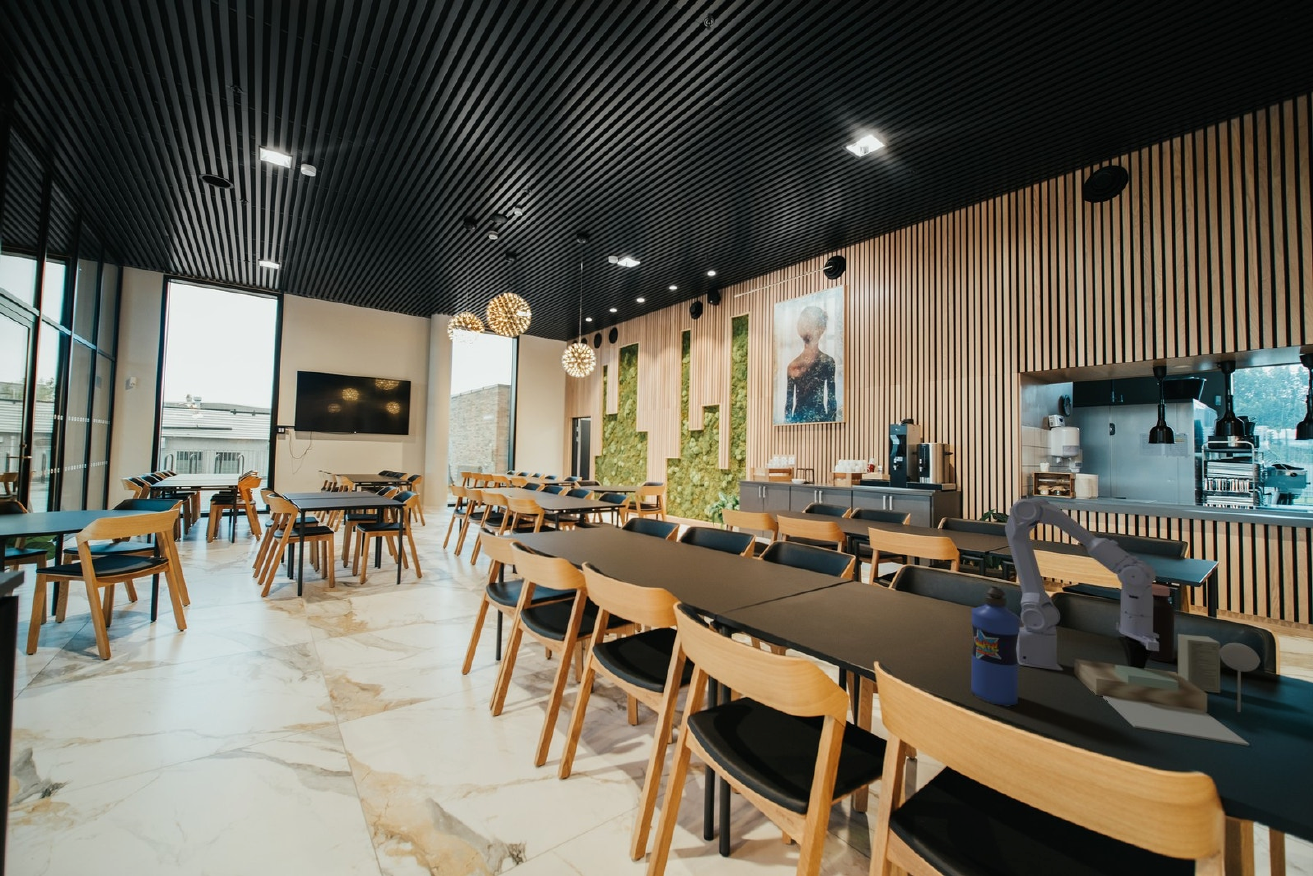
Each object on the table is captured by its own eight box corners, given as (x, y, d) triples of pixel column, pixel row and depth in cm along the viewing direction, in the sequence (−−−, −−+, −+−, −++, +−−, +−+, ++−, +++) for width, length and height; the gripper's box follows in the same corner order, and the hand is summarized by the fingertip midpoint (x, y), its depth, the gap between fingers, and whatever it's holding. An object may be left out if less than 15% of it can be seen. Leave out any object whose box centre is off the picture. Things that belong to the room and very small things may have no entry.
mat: (1134, 727, 108) (1134, 725, 108) (1102, 697, 121) (1102, 695, 121) (1249, 746, 102) (1249, 744, 102) (1202, 712, 115) (1202, 710, 115)
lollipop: (1210, 705, 119) (1211, 638, 119) (1234, 704, 119) (1234, 638, 119) (1243, 719, 112) (1244, 649, 113) (1268, 718, 113) (1268, 649, 113)
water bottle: (1003, 710, 114) (1005, 595, 114) (961, 691, 122) (963, 584, 123) (1027, 701, 118) (1028, 590, 119) (985, 684, 127) (986, 580, 127)
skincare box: (1208, 686, 129) (1209, 636, 129) (1221, 694, 124) (1221, 642, 125) (1176, 682, 131) (1176, 633, 131) (1187, 689, 126) (1188, 639, 127)
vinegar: (1147, 660, 144) (1147, 587, 144) (1135, 651, 150) (1136, 581, 151) (1179, 664, 142) (1179, 590, 142) (1166, 655, 148) (1166, 584, 148)
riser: (1096, 695, 122) (1096, 678, 122) (1074, 674, 133) (1074, 659, 133) (1207, 712, 115) (1207, 693, 115) (1174, 688, 127) (1174, 672, 127)
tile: (1128, 684, 119) (1128, 675, 119) (1114, 673, 125) (1115, 664, 125) (1178, 691, 116) (1178, 682, 116) (1162, 679, 122) (1162, 671, 122)
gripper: (1176, 625, 117) (1175, 686, 116) (1140, 606, 130) (1140, 661, 130) (1136, 620, 119) (1136, 681, 119) (1106, 603, 133) (1105, 657, 132)
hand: (1136, 670), depth 125 cm, fingers closed
